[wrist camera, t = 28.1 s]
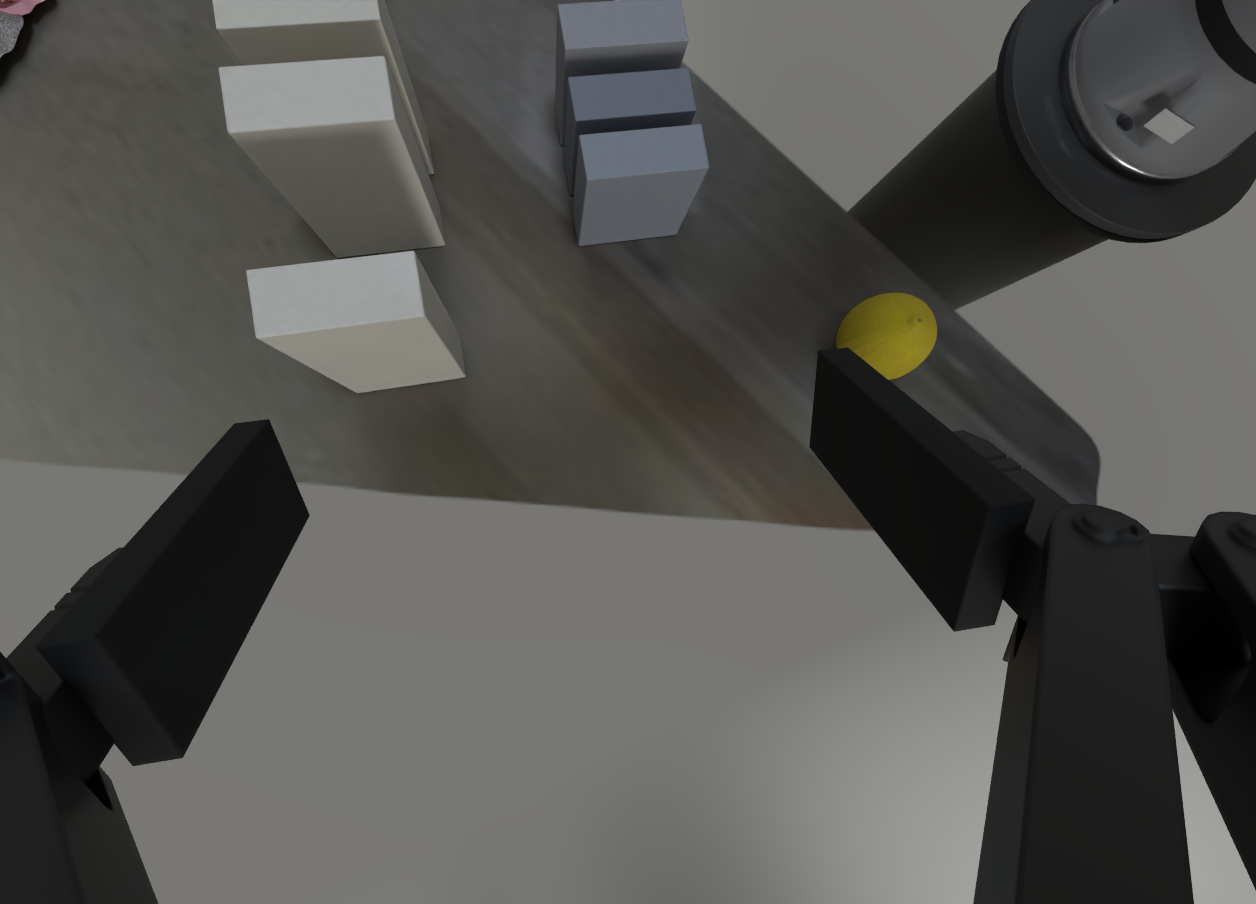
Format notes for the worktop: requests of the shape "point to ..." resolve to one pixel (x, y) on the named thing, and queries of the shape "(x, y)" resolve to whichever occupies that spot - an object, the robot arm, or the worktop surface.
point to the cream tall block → (358, 320)
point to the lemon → (889, 333)
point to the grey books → (627, 118)
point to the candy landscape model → (12, 21)
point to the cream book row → (332, 119)
